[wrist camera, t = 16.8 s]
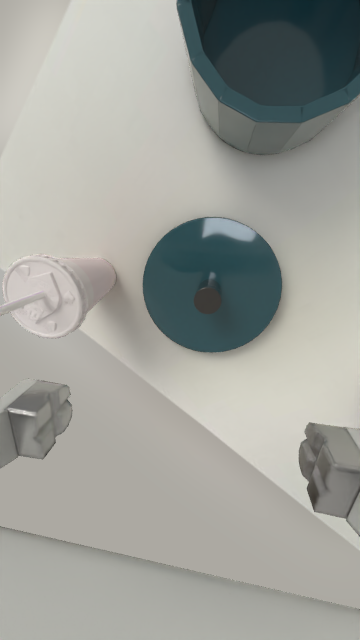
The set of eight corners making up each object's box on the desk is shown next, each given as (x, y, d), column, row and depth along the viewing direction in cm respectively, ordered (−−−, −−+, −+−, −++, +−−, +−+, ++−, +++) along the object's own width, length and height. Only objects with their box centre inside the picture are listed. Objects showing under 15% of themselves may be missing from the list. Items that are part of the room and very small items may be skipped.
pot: (187, 152, 22) (171, 120, 15) (200, -60, 18) (186, -240, 11) (339, 157, 21) (398, 125, 14) (397, -72, 16) (528, -292, 9)
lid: (144, 339, 30) (131, 359, 25) (147, 212, 25) (131, 210, 20) (265, 355, 28) (272, 379, 24) (293, 222, 23) (310, 222, 19)
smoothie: (138, 266, 27) (58, 306, 14) (112, 314, 29) (24, 387, 16) (84, 232, 26) (-50, 240, 13) (63, 284, 29) (-68, 333, 16)
